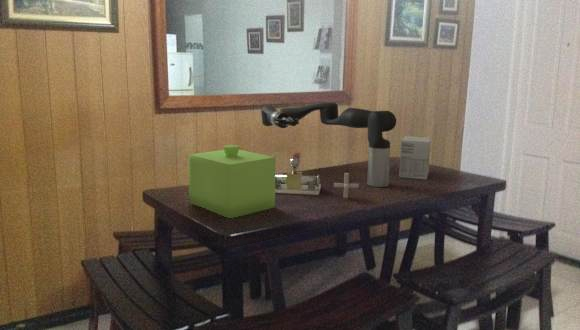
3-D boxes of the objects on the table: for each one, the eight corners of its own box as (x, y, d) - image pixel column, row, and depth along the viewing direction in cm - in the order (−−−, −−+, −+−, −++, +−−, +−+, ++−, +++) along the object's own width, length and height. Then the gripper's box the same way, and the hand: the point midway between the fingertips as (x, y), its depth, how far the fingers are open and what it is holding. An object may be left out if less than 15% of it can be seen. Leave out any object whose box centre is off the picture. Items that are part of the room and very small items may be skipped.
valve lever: (298, 168, 212) (298, 158, 211) (289, 167, 212) (289, 158, 212) (301, 161, 226) (301, 152, 226) (293, 161, 227) (293, 152, 226)
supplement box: (427, 180, 239) (429, 142, 235) (398, 177, 243) (400, 140, 239) (428, 172, 255) (431, 137, 251) (402, 170, 259) (404, 135, 255)
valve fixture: (320, 187, 221) (321, 165, 219) (318, 194, 209) (319, 171, 207) (270, 185, 223) (271, 163, 221) (266, 192, 211) (266, 168, 209)
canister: (189, 204, 193) (188, 144, 188) (233, 194, 208) (233, 139, 203) (229, 219, 176) (229, 153, 171) (274, 207, 190) (275, 147, 186)
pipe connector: (357, 194, 210) (358, 171, 208) (358, 201, 200) (359, 176, 198) (333, 193, 211) (334, 170, 209) (333, 200, 201) (334, 175, 199)
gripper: (292, 126, 251) (307, 131, 235) (267, 127, 246) (280, 132, 230) (292, 111, 249) (307, 115, 234) (267, 112, 244) (281, 115, 228)
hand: (294, 123), depth 232 cm, fingers closed
